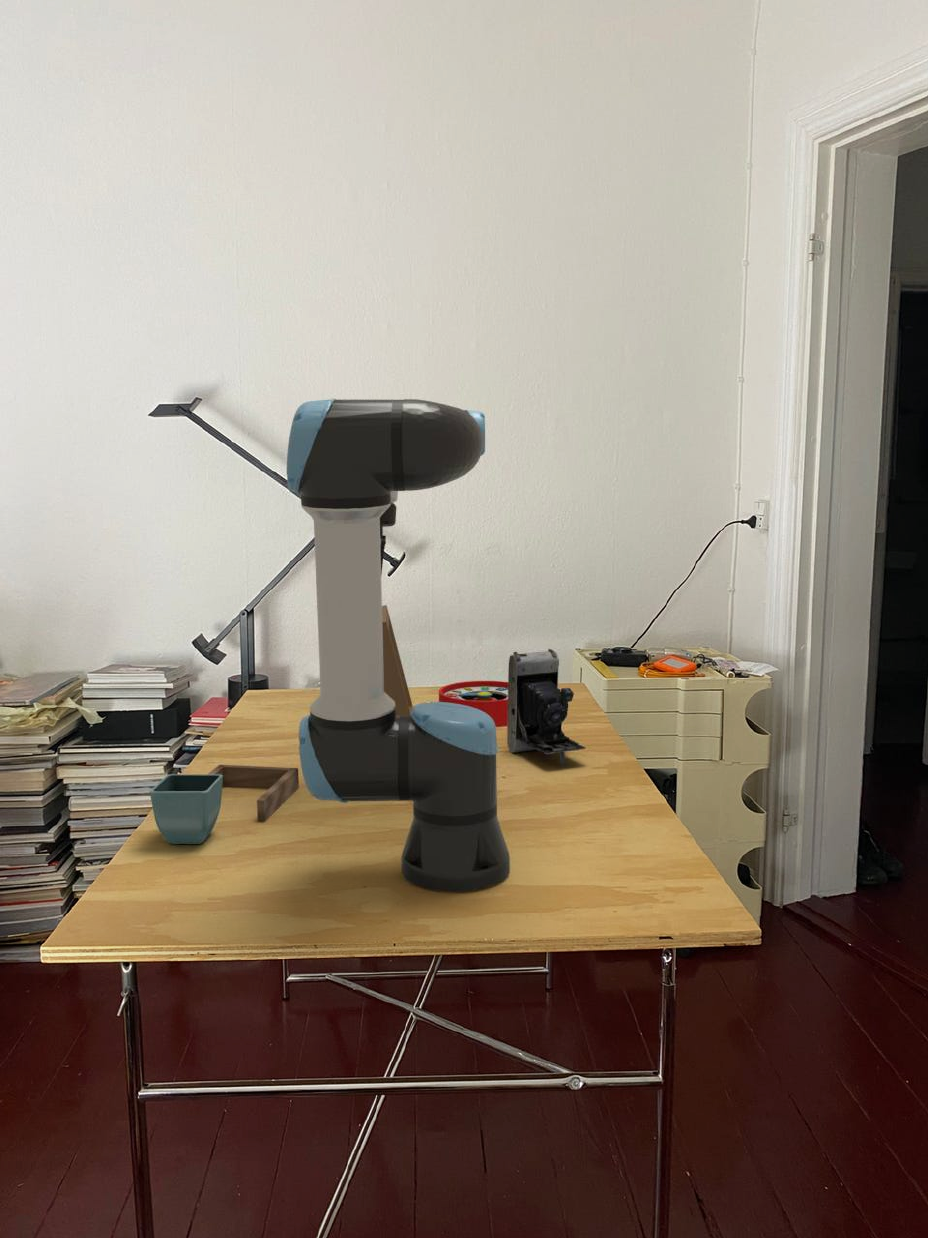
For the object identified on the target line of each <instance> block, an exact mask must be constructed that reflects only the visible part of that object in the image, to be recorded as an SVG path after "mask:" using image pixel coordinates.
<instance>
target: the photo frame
mask: <svg viewBox="0 0 928 1238" xmlns="http://www.w3.org/2000/svg"><path fill="white" fill-rule="evenodd" d="M391 621H392V620H391V617H390V613H389V609H388V605H387V604H385V605H382V631H383V670H384V692H385V693H386V694H387V695H388V696H389V697H390V698H391V699H393V700H394V702H395V706H396V707H395V709H396V716H411V711H412V709H413V707H414V705H413V702H412V698H411V694H410V691H409V687H408V683H407V678H406V675H405V672H404V668H403V664H402V659H401V655H400V652H399V649H398V645H397V644H398V643H397V640H396V636H395V632H394V628H393V625H392V622H391Z"/></svg>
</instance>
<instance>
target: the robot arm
mask: <svg viewBox="0 0 928 1238" xmlns="http://www.w3.org/2000/svg"><path fill="white" fill-rule="evenodd" d="M485 418H486V417H485V414H484V412H482V411H479V410H468V409H462V408H459V407H456V406H452V405H448V404H444V403H441V402H435V401H431V400H424V399H415V398H413V399H412V398H407V399H406V398H403V399H336V398H334V397H333V398H330V399H321V400H318V399H317V400H311V401H309V400H308V401H306V402H303V403H302V404H301V405H299V406H298V408H297V410H296V411H295V412H294V416H293V419H292V422H291V427H290V431H289V437H288V438H289V439H288V443H287V444H288V445H287V454H286V476H287V477H286V481H287V482H286V483H287V484H286V485H287V487H288V490H289V491H290V492H293V493H295V494H299V493H300V504H301V508H302V510H303V511H305V512H306V513H307V514H308V515H309V517H311V518H312V520H313V533H314V534H313V535H314V560H315V585H316V588H315V589H316V608H317V609H316V610H317V613H316V615H317V637H318V638H317V640H318V659H319V660H318V661H319V662H318V663H319V665H318V666H319V683H320V685H319V687H320V694H319V696H318V697H316V699H314V700H313V702H312V703H311V704H310V706H309V714H308V715H306V716H303V717H302V718H301V719H300V722H299V727H298V743H299V746H298V751H299V761H300V766H301V767H300V768H301V771H302V776H303V780H304V783H305V785H306V786H305V787H307V790H308V792H309V794H310V795H311V796H313V798H315V799H317V800H319V801H329V802H340V803H343V804H344V803H348V802H395V801H396V802H401V801H402V802H406V801H407V802H409V801H410V802H412V804H413V805H412V806H413V808H412V809H413V813H412V814H413V818H412V822H411V825H410V828H409V831H408V834H407V837H406V841H405V844H404V846H403V850H402V854H401V859H400V860H401V875H402V877H403V878H404V879H405V880H406V881H408V882H409V883H411V885H415V886H416V887H418V888H419V887H420V888H422V889H425V890H431V891H436V892H445V893H446V892H447V893H464V892H472V891H478V890H483V889H486V888H489V887H492V886H496V885H497V884H499V883H501V882H503V881H504V880H506V878H507V877H508V876H509V874H510V872H511V869H510V868H511V866H510V861H511V860H510V853H509V849H508V846H507V843H506V840H505V837H504V834H503V831H502V828H501V825H500V822H499V819H498V784H497V783H498V780H497V779H498V777H497V774H498V773H497V754H498V753H499V746H498V744H497V743H498V741H497V727H496V726H495V723H494V721H493V719H492V718H491V717H490V716H489V715H488V714H486V713H485V712H483V711H481V710H478V709H476V708H473V707H469V706H465V705H461V704H455V703H446V702H439V701H431V702H421V703H420V702H419V703H417V704H415V705H413V709H412V711H411V716H396V709H395V707H396V706H395V702H394V700H393V699H391V698H390V697H389V696H388V695H387V694H386V693H385V692H384V670H383V631H382V606H383V603H382V602H383V600H382V598H383V597H382V596H383V595H382V593H383V592H382V574H383V566H384V565H383V563H384V555H385V549H386V544H387V541H386V538H387V536H386V535H383V533H384V532H383V530H384V529H383V528H388V527H393V526H395V525H396V523H397V521H396V519H397V509H398V508H397V506H396V504H395V503H396V502H397V501H398V494H399V492H408V491H409V492H412V491H413V492H414V491H422V490H426V489H427V490H428V489H431V488H432V489H433V488H435V487H441V486H443V485H445V484H449V483H450V482H451V483H452V482H453V481H455V480H456V481H457V480H458V479H460V478H462V477H464V476H465V475H466V474H468V473H469V472H470V471H472V470H473V469H474V468H475V467H476V465H477V464H478V463H479V461H480V458H481V456H483V455H484V454H485V452H486V419H485Z"/></svg>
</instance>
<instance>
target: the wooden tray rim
mask: <svg viewBox="0 0 928 1238" xmlns="http://www.w3.org/2000/svg"><path fill="white" fill-rule="evenodd" d="M207 774H219V775H223V781H222V789H223V788H224V787H233V788H234V787H236V788H254V789H267V790H266V791H265V792H264V793H263V794H262V795H261V796H259V798H258V799H256V804H257V805H256V807H257V808H256V809H257V822H264V823H265V822H267V820H269V818H270V817H271V816H272V815H273V814H274V813H275V812H277V810H278V809H279V808H280V807H281V806H282V805H283V804H284V803H285V802H286V801H287V800H288V799H289V798H291V796H292V795H293V794H294V793H295V792H296V791H297V790H298V789H299V787H300V785H299V784H300V782H299V780H300V779H299V768H298V767H281V766H256V765H234V764H233V765H231V764H218V765H216V767H215V768H213V769H212V770H211V771H209V772H208V773H207ZM286 799H287V800H286ZM283 802H284V803H283ZM282 803H283V804H282ZM281 804H282V805H281Z"/></svg>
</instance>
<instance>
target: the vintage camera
mask: <svg viewBox="0 0 928 1238" xmlns="http://www.w3.org/2000/svg"><path fill="white" fill-rule="evenodd" d="M559 666H560V659H559V657H558V652H556V651H554V650H553V649H552V648H548V649H547V650H546V651H534V652H525V653H523V652H522V653H518V652H517V651H514V652H513V654H510V655H509V658H508V674H507V675H508V676H507V677H508V678H507V680H508V681H507V682H508V722H507V726H506V727H507V728H506V729H507V731H506V732H507V733H506V735H507V736H506V744H507V748H508V751H509V752H510V753H511V754H514V753H523V752H529V751H539V752H541V753H543V754H545V755H551V754H552V755H553V754H557V753H559V757H560V767H561V768H566V755H565V753H566V752H572V751H579V750H585V749H586V747H585V746H583V745H581V744H580V743H579V742H577V741H575V740H572V739H570V737H568V736H566V735H565V733H564V731H563V728H562V726H563V723H564V721H565V719H566V718H567V716H568V710H569V702H572V701H573V699H574V696H575V693H574V691H573V690H572V689H571V688H569V687H564V688H559Z"/></svg>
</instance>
